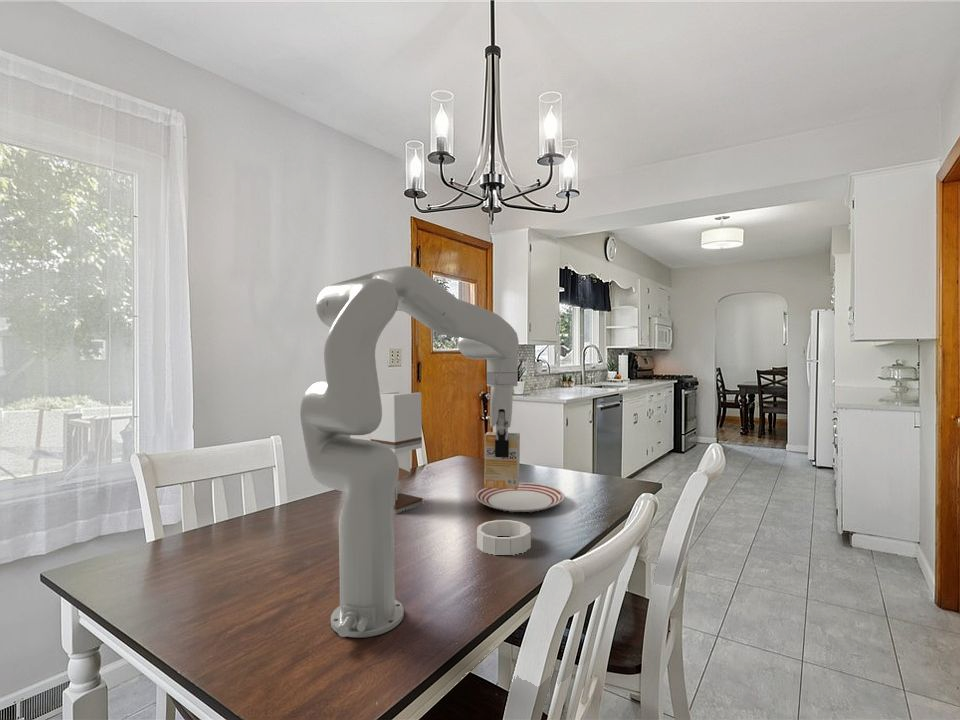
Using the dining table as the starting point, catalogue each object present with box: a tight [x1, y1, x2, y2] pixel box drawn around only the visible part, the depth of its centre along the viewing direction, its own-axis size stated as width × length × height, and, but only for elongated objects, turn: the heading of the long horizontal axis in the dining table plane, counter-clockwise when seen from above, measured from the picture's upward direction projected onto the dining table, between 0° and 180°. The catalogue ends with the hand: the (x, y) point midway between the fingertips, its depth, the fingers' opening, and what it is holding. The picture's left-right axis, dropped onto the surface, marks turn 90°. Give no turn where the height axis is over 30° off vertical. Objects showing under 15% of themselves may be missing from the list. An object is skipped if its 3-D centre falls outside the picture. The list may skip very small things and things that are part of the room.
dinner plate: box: [475, 482, 565, 513], centre depth 157 cm, size 27×27×3 cm
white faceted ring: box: [476, 519, 532, 556], centre depth 123 cm, size 13×13×4 cm
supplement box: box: [483, 431, 521, 489], centre depth 123 cm, size 8×5×13 cm, turn 79°
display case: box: [370, 390, 424, 515], centre depth 156 cm, size 11×11×35 cm
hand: (502, 453), depth 123 cm, fingers closed on supplement box, 5 cm apart
